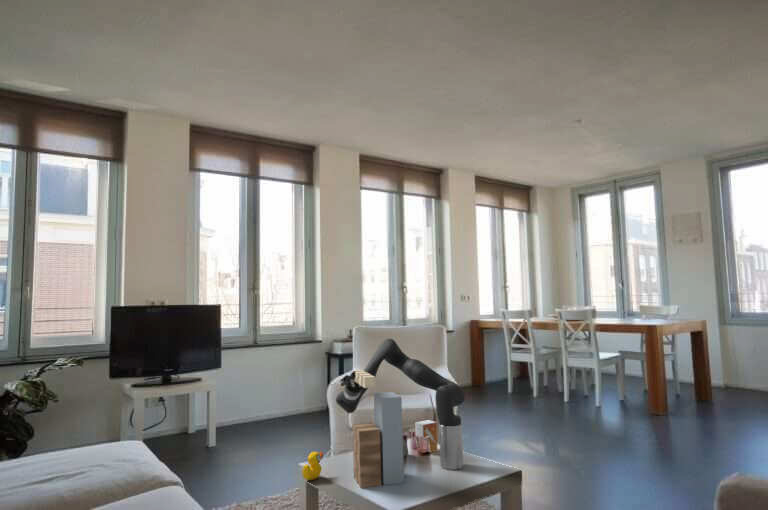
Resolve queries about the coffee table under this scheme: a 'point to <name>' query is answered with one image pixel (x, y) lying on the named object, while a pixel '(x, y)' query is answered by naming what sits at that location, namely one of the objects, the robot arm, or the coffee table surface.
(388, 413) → the tall tower
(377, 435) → the brown wooden block
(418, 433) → the small box
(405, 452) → the mineral specimen
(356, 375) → the beam
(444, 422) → the robot arm
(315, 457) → the duckling
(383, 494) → the coffee table surface
